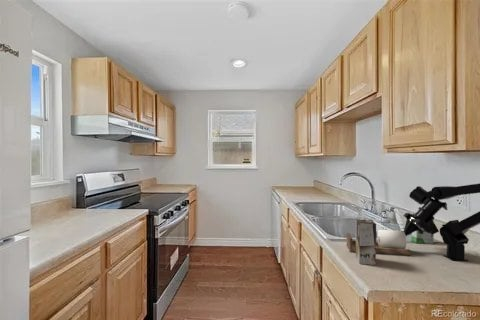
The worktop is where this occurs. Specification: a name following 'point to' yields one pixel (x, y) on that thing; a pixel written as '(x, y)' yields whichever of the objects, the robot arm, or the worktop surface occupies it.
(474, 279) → the worktop surface
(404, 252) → the brown tray
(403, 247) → the kitchen roll
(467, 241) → the robot arm
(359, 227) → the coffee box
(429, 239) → the ink box
